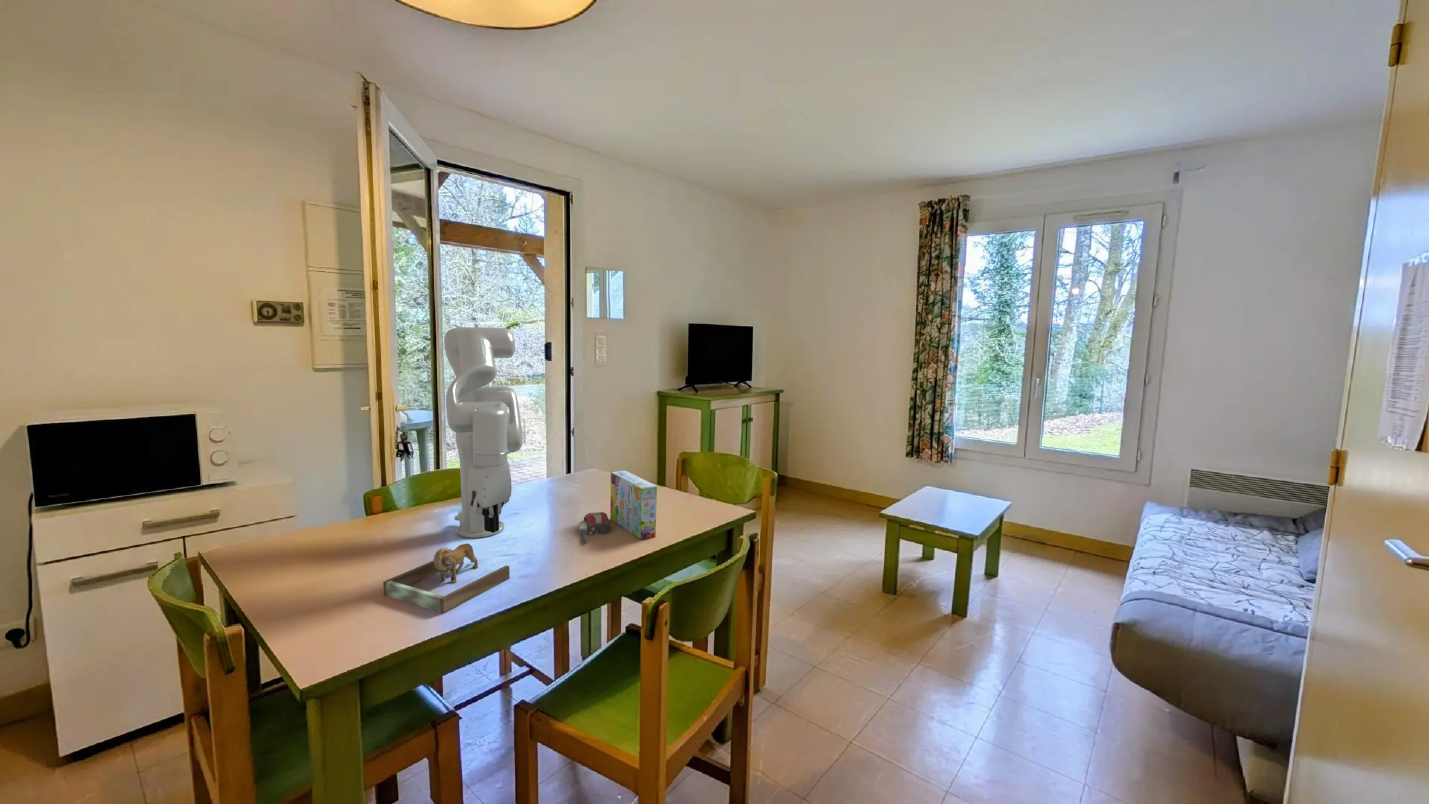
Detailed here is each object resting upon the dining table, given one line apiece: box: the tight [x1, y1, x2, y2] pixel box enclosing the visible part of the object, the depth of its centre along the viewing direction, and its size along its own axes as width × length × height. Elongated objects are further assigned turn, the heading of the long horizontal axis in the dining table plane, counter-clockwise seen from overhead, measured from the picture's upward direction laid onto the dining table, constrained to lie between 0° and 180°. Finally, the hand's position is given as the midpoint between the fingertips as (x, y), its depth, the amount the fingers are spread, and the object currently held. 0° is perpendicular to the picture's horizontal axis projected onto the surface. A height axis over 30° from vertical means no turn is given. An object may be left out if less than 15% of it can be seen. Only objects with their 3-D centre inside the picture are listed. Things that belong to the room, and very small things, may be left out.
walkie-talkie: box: [578, 511, 612, 544], centre depth 160 cm, size 9×4×20 cm
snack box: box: [609, 470, 658, 540], centre depth 163 cm, size 21×6×15 cm, turn 34°
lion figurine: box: [433, 543, 479, 584], centre depth 129 cm, size 15×5×9 cm, turn 177°
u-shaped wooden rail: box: [383, 560, 511, 614], centre depth 124 cm, size 18×18×3 cm
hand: (491, 530), depth 136 cm, fingers closed
